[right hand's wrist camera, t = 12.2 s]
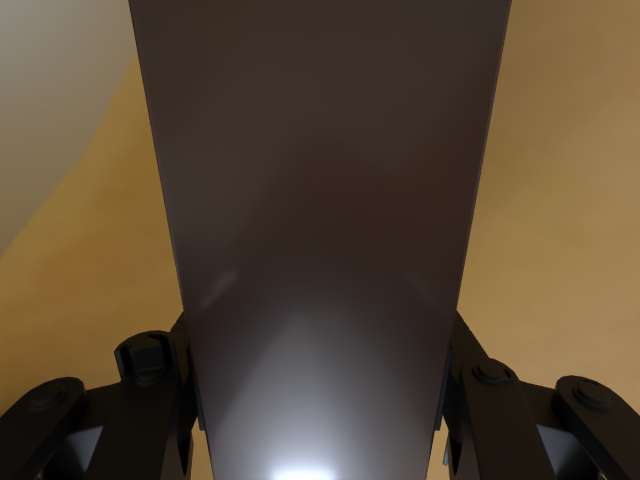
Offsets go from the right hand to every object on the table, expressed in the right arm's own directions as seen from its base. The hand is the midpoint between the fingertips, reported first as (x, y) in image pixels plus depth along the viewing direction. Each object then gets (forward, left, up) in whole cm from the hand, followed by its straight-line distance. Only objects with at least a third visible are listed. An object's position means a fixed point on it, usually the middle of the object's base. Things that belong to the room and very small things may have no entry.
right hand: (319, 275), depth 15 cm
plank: (0, -11, 0) cm, 11 cm away
